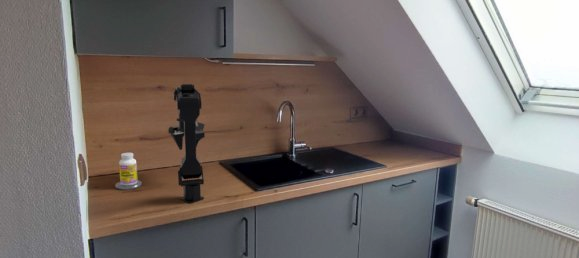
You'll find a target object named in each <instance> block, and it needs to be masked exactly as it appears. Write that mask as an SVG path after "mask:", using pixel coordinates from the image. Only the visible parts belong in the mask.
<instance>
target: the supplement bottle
mask: <svg viewBox="0 0 579 258" xmlns="http://www.w3.org/2000/svg"><path fill="white" fill-rule="evenodd" d="M120 157H121V159H120V160H119V162H118V168H119V169H118V170H119V182H120V183H121V185H124V186H130V185H134V184H136V183H137V181H138V180H139V179H138V166H137V165H138V163H137V160H136V159H135V158H134V153H133V152H122V153H121V154H120Z"/></svg>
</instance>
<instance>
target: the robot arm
mask: <svg viewBox="0 0 579 258" xmlns="http://www.w3.org/2000/svg"><path fill="white" fill-rule="evenodd" d="M173 101H175V103H176V108H177V111H178V112H177V113H178V118H176V121H177V122H178V125H172V126H169V127H168V134H170V137H171V138H172V139H173V141H174V142H175V144H176V146H177V148H178V149H179V150H180V151H181V150H183V147H184V156H183V157H182V158H181V161H180V167H179V169H178V171H177V178H178V180H177V181H178V186H180V187H183V196H182V197H180V200H182V201H184V202H187V203H188V204H192V203H195V202H198V201H201V200H204V199H205V196H202V193H201V191H202V190H201V185H204V184H205V183H204V182H205V179H204V172H203V165H201V160H200V159H199V157H198V156H197V146H198V143H199V142H200V141H201V140H203V139H204V138H205V137H206V135H205V134H206V132H205V131H204V129H205V126H206V125H205V123H203V122H198V121H197V120H198V118H199V117H200V114H201V112H200V111H201V110H202V98H201V93H200V92H199V91H198V90H197V89H196V88H195V84H193V83H181V84H180V85H179V86H176V89H174V91H173ZM183 142H184V144H183ZM183 145H184V146H183Z"/></svg>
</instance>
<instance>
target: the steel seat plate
mask: <svg viewBox="0 0 579 258" xmlns="http://www.w3.org/2000/svg"><path fill="white" fill-rule="evenodd" d="M137 180H138V181H137V183H136V184H134V185H130V186H124V185H121V183H120V181H118V182H116V183H115V185H114V186H115V189H116V190H120V191H130V190H135V189H138V188H141V187H142V181H141V180H139V179H137Z"/></svg>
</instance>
